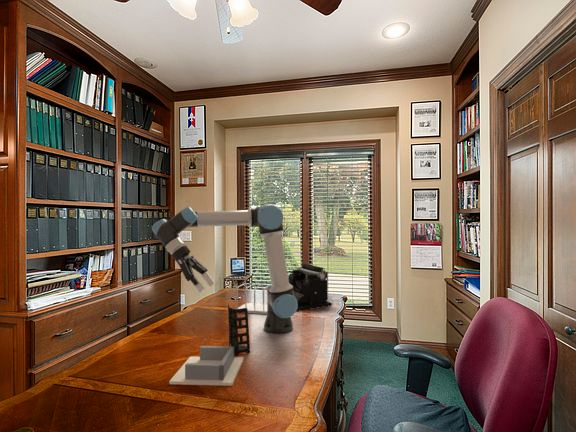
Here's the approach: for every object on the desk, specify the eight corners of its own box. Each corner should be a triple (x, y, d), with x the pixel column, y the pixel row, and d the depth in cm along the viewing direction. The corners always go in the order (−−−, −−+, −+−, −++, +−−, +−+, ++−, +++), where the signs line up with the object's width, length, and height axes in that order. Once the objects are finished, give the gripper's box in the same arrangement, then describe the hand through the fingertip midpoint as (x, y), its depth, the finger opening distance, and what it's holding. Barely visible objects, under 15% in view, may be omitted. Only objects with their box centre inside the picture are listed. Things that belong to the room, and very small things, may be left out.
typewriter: (274, 300, 223) (273, 265, 224) (306, 296, 237) (306, 262, 237) (296, 311, 196) (296, 271, 197) (331, 305, 210) (331, 268, 210)
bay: (243, 359, 128) (243, 345, 128) (232, 385, 108) (232, 368, 108) (190, 358, 129) (190, 344, 129) (169, 384, 109) (169, 366, 109)
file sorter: (282, 307, 205) (281, 283, 206) (274, 315, 189) (273, 289, 189) (246, 305, 212) (245, 282, 212) (235, 312, 195) (235, 287, 195)
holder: (254, 348, 139) (251, 304, 137) (246, 357, 132) (243, 310, 130) (232, 345, 142) (229, 302, 141) (223, 354, 135) (220, 308, 134)
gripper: (183, 253, 154) (210, 287, 152) (158, 257, 129) (190, 298, 127) (195, 243, 153) (222, 277, 152) (172, 246, 128) (204, 287, 127)
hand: (207, 287), depth 139 cm, fingers open, 13 cm apart
